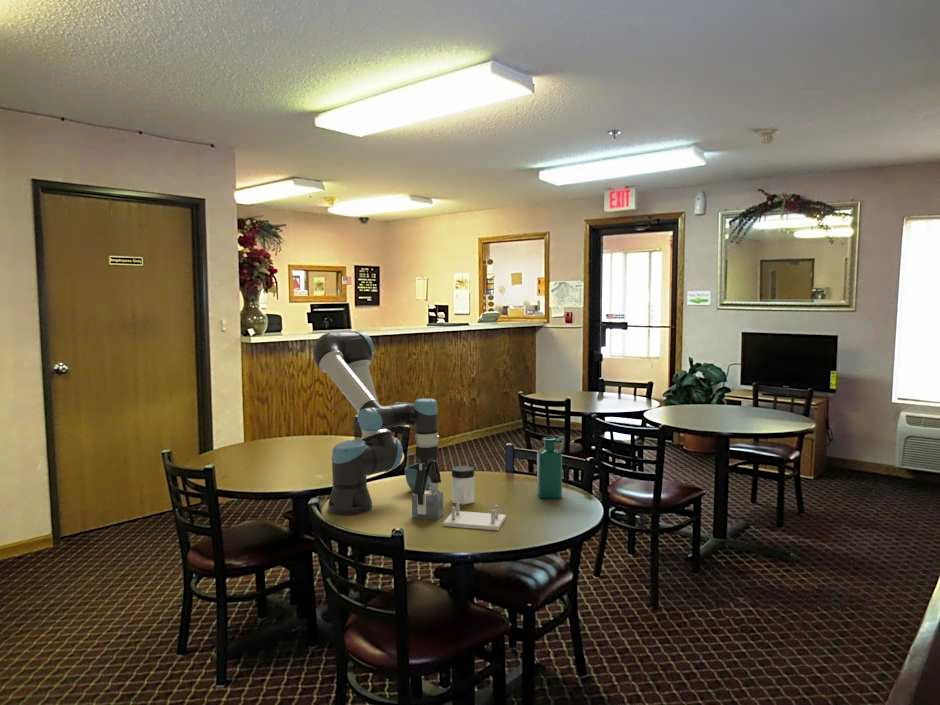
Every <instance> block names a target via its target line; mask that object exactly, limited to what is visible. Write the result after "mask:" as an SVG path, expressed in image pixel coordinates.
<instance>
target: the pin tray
mask: <svg viewBox="0 0 940 705" xmlns="http://www.w3.org/2000/svg"><path fill="white" fill-rule="evenodd" d="M460 505H461V504H460V503H459V502H456V503H455V506H451V513H450V514H449V515H448V516H447V518H445V520H444V521H443V523H442V525H443V527H451V528H453V527H454V528H465V529H477V530H487V531H499V529H500V528H501V527H502V526H503V524H504V522H505V521H506V519H507V514H500V513H499V505H498V504H495V505H494V509H491V510H490V512H489V513H487V512H476V511H474V512H473V511H464V510H463V511H462V510H460Z"/></svg>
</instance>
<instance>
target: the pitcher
mask: <svg viewBox="0 0 940 705" xmlns="http://www.w3.org/2000/svg"><path fill="white" fill-rule="evenodd" d="M541 440H542V441H544V448H540V449H538V450H537V452H536V494H537V495H538V497H539V499H543V500H546V499H547V500H550V499H553V500H554V499H555V500H557V499H560V498H562V497H563V452H564V450H565V448H566V441H567V440H566V438H565V437H564V436H563V435H559V436H558V437H557V438H556V437H554V436H545V437H543V438H541ZM559 442H561V443H560V448H559V449H556V447H555V443H559Z"/></svg>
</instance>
